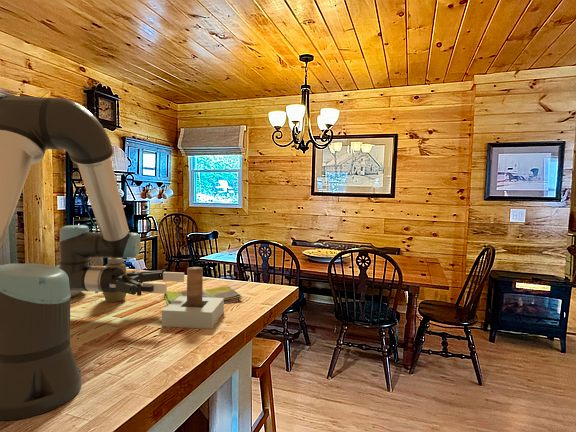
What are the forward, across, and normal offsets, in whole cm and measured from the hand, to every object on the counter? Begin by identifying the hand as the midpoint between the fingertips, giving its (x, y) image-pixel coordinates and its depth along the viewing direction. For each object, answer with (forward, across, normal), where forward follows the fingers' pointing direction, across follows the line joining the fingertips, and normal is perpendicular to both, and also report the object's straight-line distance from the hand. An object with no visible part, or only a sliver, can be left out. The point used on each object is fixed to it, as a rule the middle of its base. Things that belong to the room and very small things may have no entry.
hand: (175, 282), depth 108 cm
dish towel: (+2, -21, -11) cm, 24 cm away
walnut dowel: (+6, 0, -11) cm, 12 cm away
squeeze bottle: (-26, -14, -11) cm, 32 cm away
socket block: (+6, 0, -11) cm, 12 cm away
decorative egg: (-54, -42, -11) cm, 69 cm away
